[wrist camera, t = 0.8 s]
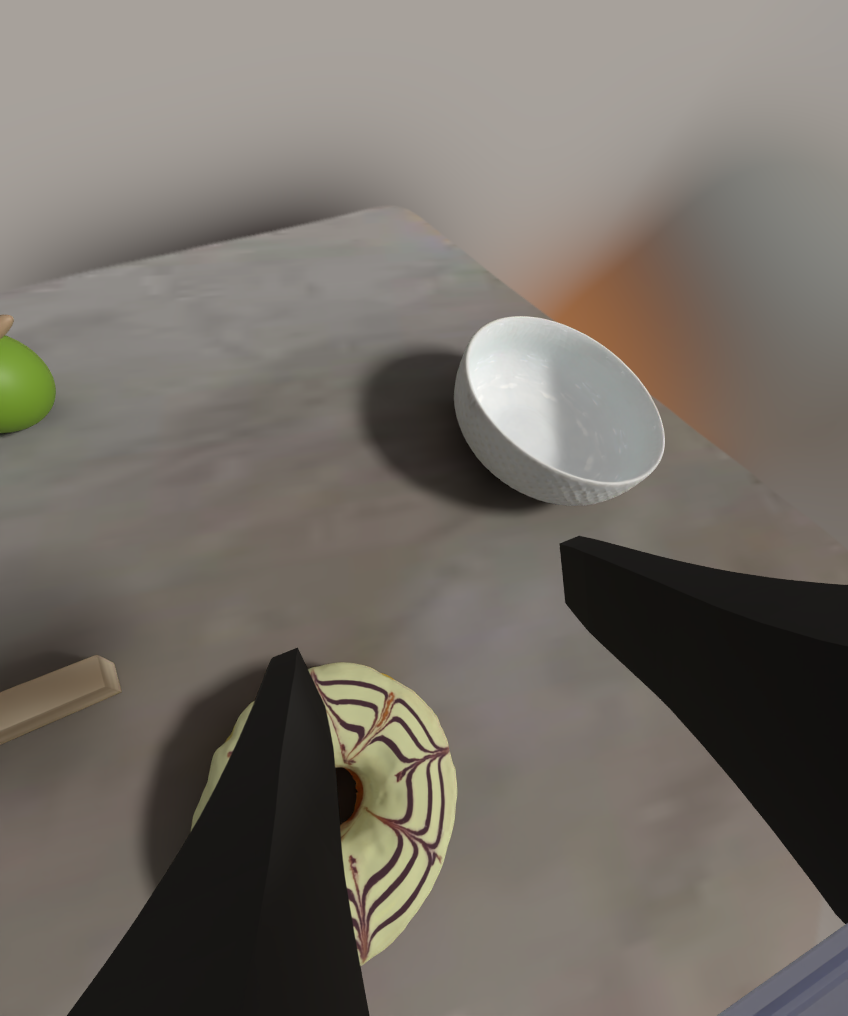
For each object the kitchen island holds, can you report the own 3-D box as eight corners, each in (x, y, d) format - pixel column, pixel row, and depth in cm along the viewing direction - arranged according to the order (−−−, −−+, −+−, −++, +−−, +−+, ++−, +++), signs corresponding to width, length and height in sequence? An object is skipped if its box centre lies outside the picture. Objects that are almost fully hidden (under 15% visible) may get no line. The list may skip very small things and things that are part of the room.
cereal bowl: (584, 393, 44) (633, 339, 38) (626, 539, 36) (696, 500, 30) (429, 358, 39) (458, 290, 33) (439, 518, 31) (478, 465, 25)
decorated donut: (141, 879, 18) (110, 910, 15) (296, 635, 25) (300, 617, 21) (370, 1001, 18) (393, 1060, 15) (464, 729, 25) (494, 727, 21)
